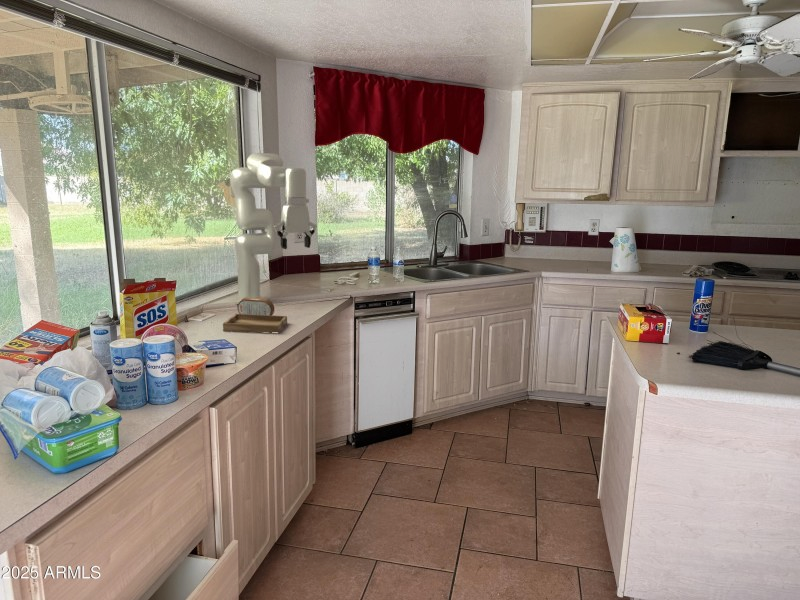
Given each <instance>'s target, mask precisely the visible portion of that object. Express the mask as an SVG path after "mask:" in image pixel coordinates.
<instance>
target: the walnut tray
mask: <svg viewBox="0 0 800 600" xmlns="http://www.w3.org/2000/svg"><path fill="white" fill-rule="evenodd" d="M287 324H288V316H287V315H274V314H273V315H252V314H239V313H235V314H233V315H232V316H231V317H229V318H228V319H227V320H226V321H224V322H223V323H222V332H228V333H229V332H231V331H232V332H233V333H249V332H269V333H272V332H279V331H280V330H281V329H282V328H283V329H284V328H285V326H286V325H287ZM283 329H282V330H283ZM282 330H281V331H282ZM281 331H280V332H281ZM232 332H231V333H232ZM280 332H279V333H280ZM269 333H268V334H269Z"/></svg>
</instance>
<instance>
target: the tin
mask: <svg viewBox="0 0 800 600" xmlns="http://www.w3.org/2000/svg"><path fill="white" fill-rule="evenodd" d="M237 312H238V314H252V315H273V316H274V313H275V305H274V303H273V302H272V301H271V300H269V299H268V298H261V297H260V298H251V297H246V298H243V299H242V300H241V301H240V302H239V303H238V305H237Z"/></svg>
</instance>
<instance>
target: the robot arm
mask: <svg viewBox="0 0 800 600" xmlns="http://www.w3.org/2000/svg"><path fill="white" fill-rule="evenodd" d="M246 166H247V167H237V168H234V169H233V170H232V171H231V172H230V178H229V179H230V180H229V181H230V186H231V187H230V188H231V190H232V193H233V197H234V201H235V203H234V204H235V216H236V217H235V218H236V223H237V224H236V225H237V228H238V229H239V230H241V231H260V232H258V233H257V232H254V233H253V232H252V233H251V232H250V233H249V232H248V233H241V234H239V235H236V237H235V239H234V249H235V254H236V261H237V262H236V263H237V265H236V266H237V288H238V289H237V291H238V292H237V293H238V295H237V296H238V298H237V299H239V300H242V299H243V298H246V297H251V298H261V282H260V281H261V280H260V279H261V278H260V277H261V276H260V275H261V273H260V271H261V270H260V263H259V261H258V259H257V258H256V257H255V256H256V255H269V254H271V253H273V252H274V250H275V247H276V244H275V243H276V242H275V241H276V240H275V239H276V237H275V233H276V235H278V236H279V238H280V247H281V249H282V250H287V249H288V239H287V236H288V235H289V234H301V233H302V234H304V235H305V236H304V243H303V244H304V247H305V248H307V249H308V248H311V244H312V243H311V242H312V240H311V238H312V237H313V235H314V233H316V232H315V231H316V229H317V227H318V226H317V224H315V223H313V222H312V221H311V220H310V213H309V207H308V206H307V203H310V200H309V198H307V173H306V169H305V168H300V167H292V166H291V167H290V166H284V162H283V158H282V157H281V156H280V155H278V154H276V153H268V152H267V153H266V152H265V153H264V152H253V153H252V154H250V155H248V157H247V159H246ZM269 188H284V189H285V191H284V192H285V195H284V196H285V197H284V198H285V199H284V200H285V205H282V210H281V216H280V218H281V219H280V222H279V223H277V224H276V225H274V224H275V223H274V217H273V214H272V211H270V210H269V209H267V208H257V207H256V206H257V205H256V204H257V203H256V197H255V195H254V194H253V192H252V191H251V189H269ZM310 227H311V229H310Z"/></svg>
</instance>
